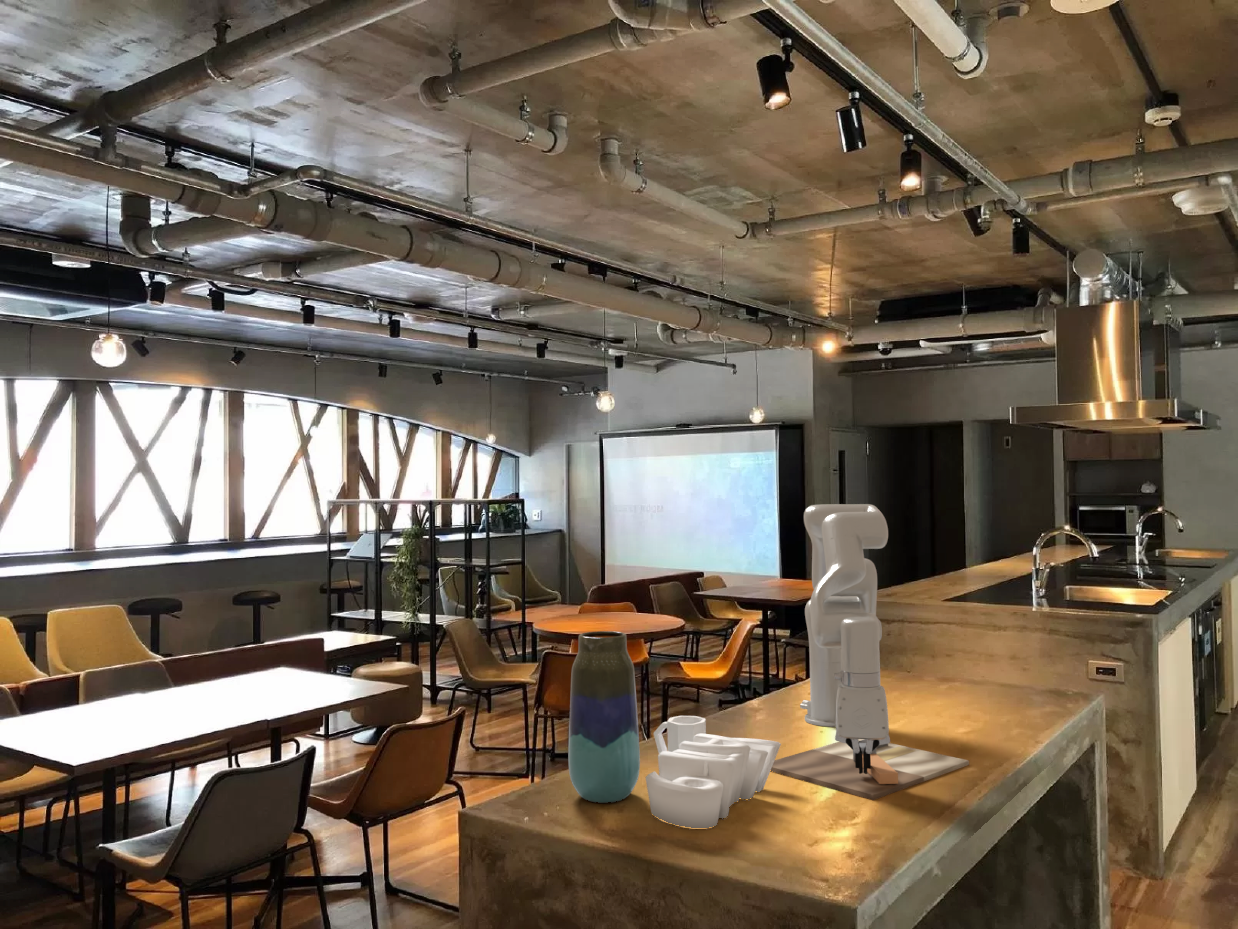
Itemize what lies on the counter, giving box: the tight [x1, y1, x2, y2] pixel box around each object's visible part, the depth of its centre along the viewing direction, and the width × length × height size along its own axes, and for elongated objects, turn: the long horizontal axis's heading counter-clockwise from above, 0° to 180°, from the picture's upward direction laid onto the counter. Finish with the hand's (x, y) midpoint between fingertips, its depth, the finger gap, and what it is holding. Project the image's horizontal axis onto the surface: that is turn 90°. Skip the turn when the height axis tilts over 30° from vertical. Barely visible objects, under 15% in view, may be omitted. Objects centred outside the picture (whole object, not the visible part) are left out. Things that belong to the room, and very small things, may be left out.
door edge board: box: [770, 739, 970, 801], centre depth 200 cm, size 28×34×3 cm
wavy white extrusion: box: [645, 733, 782, 828], centre depth 178 cm, size 35×16×10 cm, turn 147°
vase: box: [567, 630, 641, 804], centre depth 184 cm, size 14×14×31 cm
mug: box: [653, 715, 707, 755], centre depth 204 cm, size 12×9×10 cm
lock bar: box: [853, 743, 898, 784], centre depth 193 cm, size 18×5×3 cm, turn 2°
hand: (863, 771), depth 190 cm, fingers closed
